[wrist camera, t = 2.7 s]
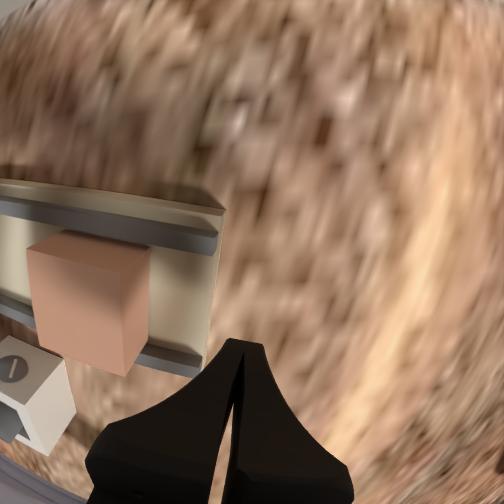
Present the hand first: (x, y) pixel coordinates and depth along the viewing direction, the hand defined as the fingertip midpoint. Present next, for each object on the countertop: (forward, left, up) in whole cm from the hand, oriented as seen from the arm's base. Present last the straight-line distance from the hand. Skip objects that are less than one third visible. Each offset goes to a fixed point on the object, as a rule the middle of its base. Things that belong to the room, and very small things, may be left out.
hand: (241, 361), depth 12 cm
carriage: (-8, 0, -3) cm, 8 cm away
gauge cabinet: (-16, -11, -5) cm, 20 cm away
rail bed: (-12, 0, -5) cm, 13 cm away
